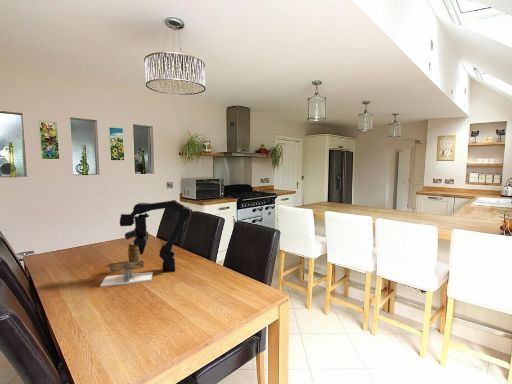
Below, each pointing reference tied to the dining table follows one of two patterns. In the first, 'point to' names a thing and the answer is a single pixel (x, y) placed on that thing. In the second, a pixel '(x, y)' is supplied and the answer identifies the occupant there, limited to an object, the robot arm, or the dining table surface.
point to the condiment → (133, 253)
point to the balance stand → (127, 278)
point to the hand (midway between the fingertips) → (142, 252)
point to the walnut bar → (126, 266)
